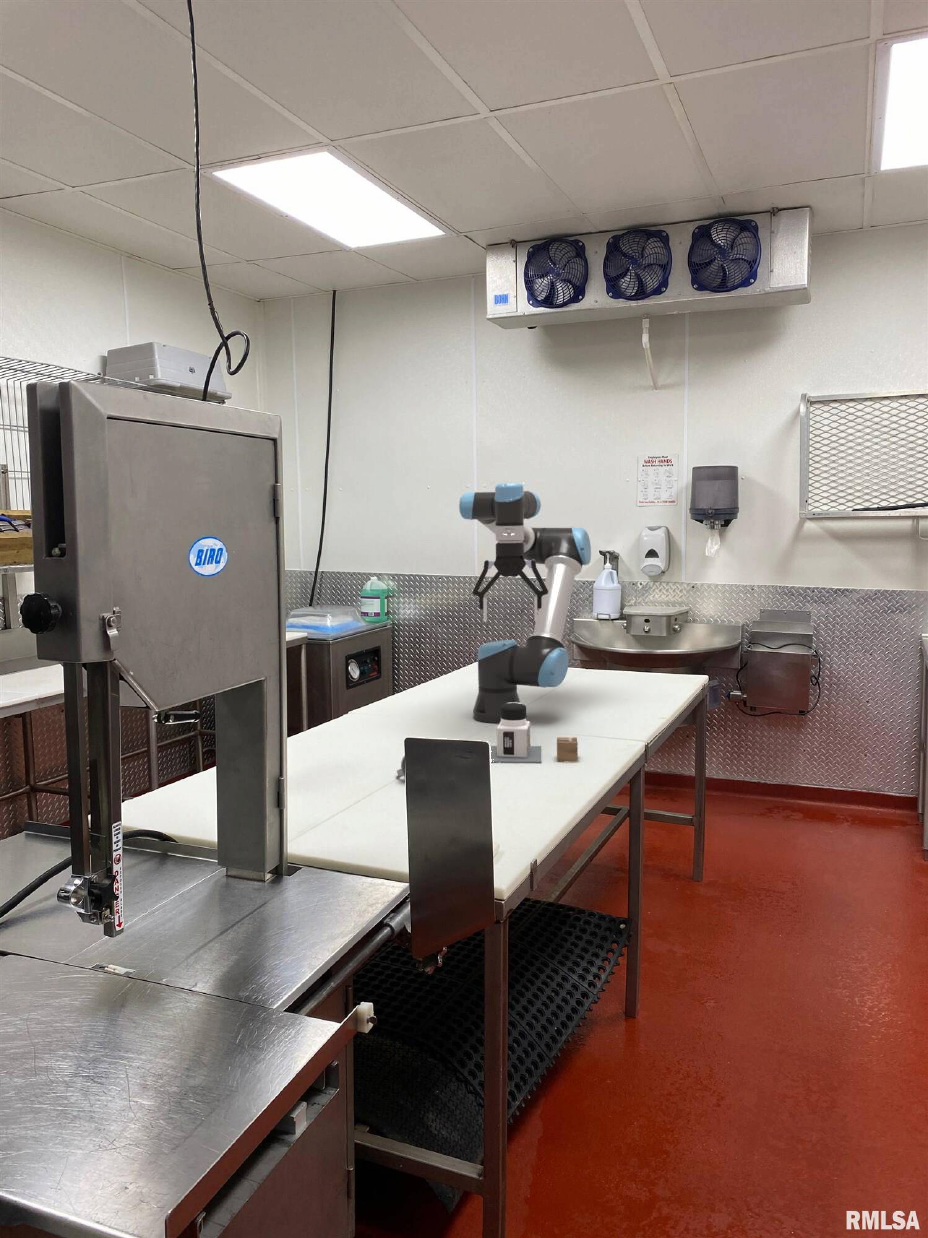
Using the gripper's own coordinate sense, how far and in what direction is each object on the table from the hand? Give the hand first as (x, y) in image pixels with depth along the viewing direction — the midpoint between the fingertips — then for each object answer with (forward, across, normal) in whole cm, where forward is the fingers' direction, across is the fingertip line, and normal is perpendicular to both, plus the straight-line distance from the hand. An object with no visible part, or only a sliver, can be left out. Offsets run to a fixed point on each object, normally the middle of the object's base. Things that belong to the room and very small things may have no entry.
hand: (510, 621), depth 233 cm
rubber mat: (+33, +1, -15) cm, 36 cm away
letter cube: (+33, +14, -18) cm, 40 cm away
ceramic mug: (+33, -21, -35) cm, 52 cm away
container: (+32, +1, -15) cm, 36 cm away
